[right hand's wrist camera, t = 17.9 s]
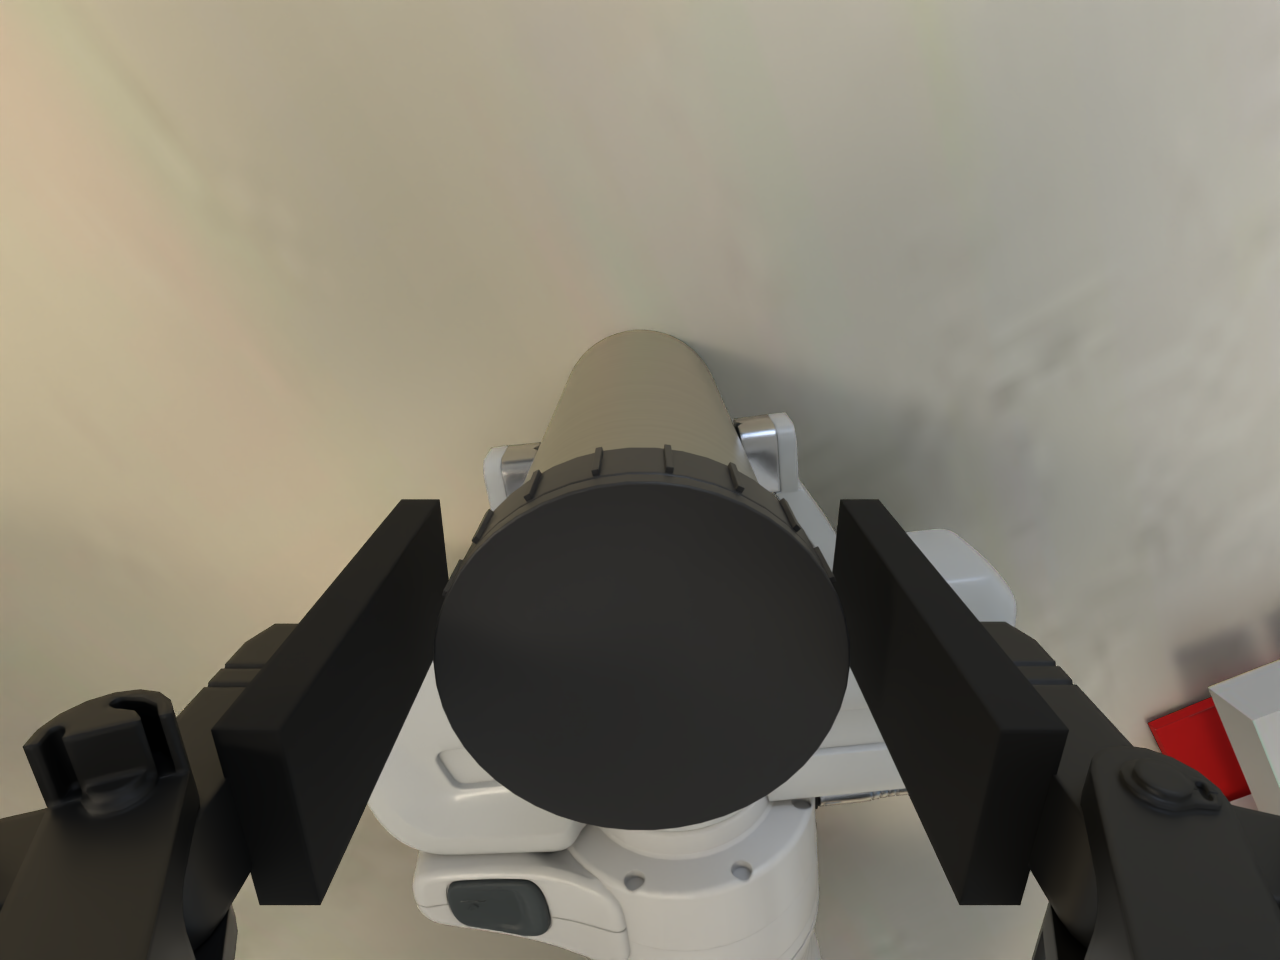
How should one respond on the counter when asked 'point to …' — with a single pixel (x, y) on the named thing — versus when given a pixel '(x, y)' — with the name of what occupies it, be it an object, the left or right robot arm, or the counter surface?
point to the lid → (641, 641)
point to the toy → (1232, 738)
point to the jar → (640, 404)
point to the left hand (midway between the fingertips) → (635, 435)
